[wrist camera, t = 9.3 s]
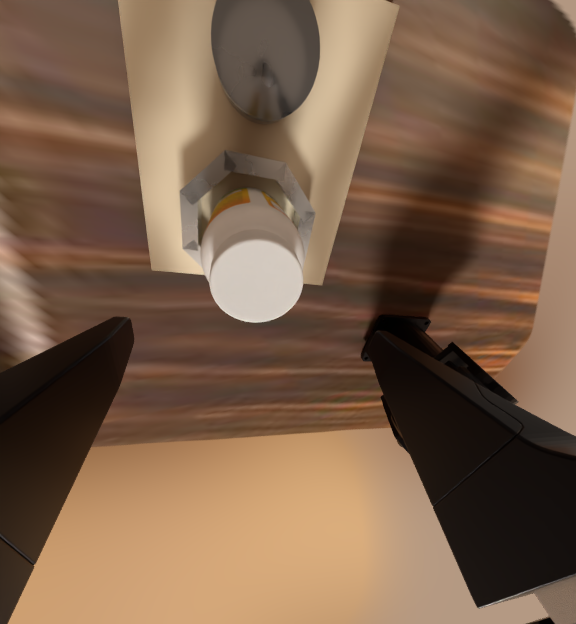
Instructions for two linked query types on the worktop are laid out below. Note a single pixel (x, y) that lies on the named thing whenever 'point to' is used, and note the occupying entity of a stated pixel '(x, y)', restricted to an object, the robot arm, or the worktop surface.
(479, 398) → the robot arm
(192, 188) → the socket collar
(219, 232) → the supplement bottle
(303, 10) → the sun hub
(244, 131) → the carrier plate
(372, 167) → the worktop surface
